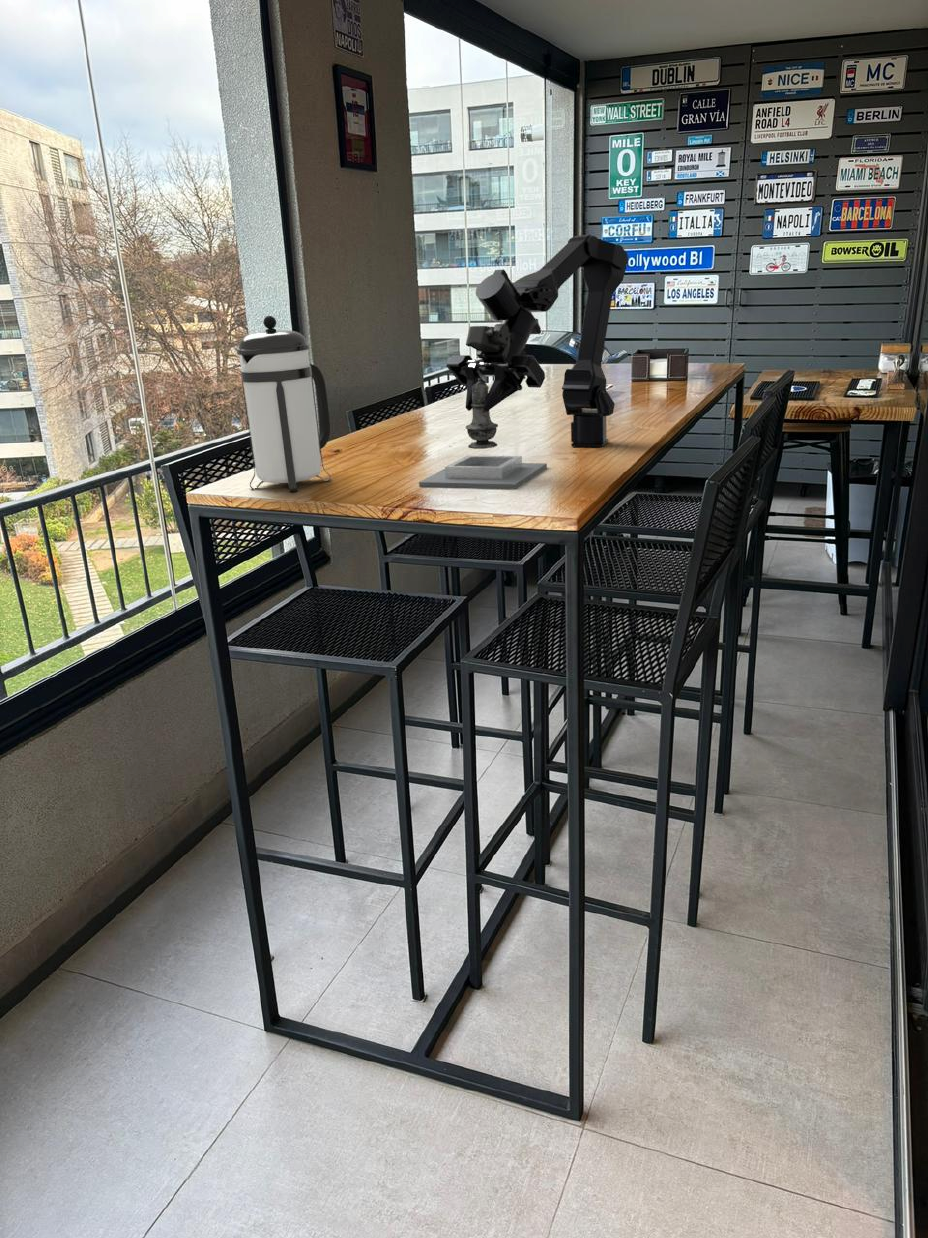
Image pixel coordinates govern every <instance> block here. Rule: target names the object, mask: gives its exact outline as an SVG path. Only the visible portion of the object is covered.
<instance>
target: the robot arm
mask: <svg viewBox="0 0 928 1238" xmlns="http://www.w3.org/2000/svg"><path fill="white" fill-rule="evenodd" d="M628 264H629V256H628V252H627V251H626V250H625V249H624V247H623V246H622V245H621V244H616V243H613V242H611V241H610V242H609V241H606V240H603V239H599V238H598V237H597V236H595V235H592V234H583V235H573V236H572V237H570V238H569V240H567V243H566V244H565V245H564V246H563V247H561V249H560V250H559V251H558V252H557V253H556V254H554V256H553V257H551V259H550V260H548V262H547V263H546V264H544V265H543V267H541V268H540V269H539V270H537V271H535V272H532V273H529V274H527V275H524V276H522V277H520V278H518V279H517V280H516V281H514V282H512V281H511V279H510V278H509V275H508V273H507V272H506V270H505V269H494V272H493V273H492V274H490V275H489V276H487V277H485V278H484V279H483V280H482V281H481V282H479V284H477V286H476V289H475V296H476V297H477V299H478V300H479V302H480V303H481V304H482V306H483V307H484V308H485V311H487V313H488V314H489V315H490V317H491V318H492V320H494V321H497V322H498V321H501V322H500V323H496V324H495V325H494V326H488V325H474V326H472V325H471V326H469V327H468V332H467V335H466V342H465V346H467V347H470V348H473V349H474V350H476V351H477V353H476V356H477V358H479V359H482V362H481V361H480V362H479V361H478V360H476V359H475V360H474V359H473V358H472V357H471V355H469V354H463V355H462V354H461V355H460V354H459V355H458V354H456V355H450V357H449V359H448V361H447V364H446V365H445V366H446V368H447V369H448V370H449V372H450V373H451V374H452V375H453V376H454V377H455V379H456V380H457V382H458V383H459V384H460V385H462V386H466V388H467V389H466V398H465V399H466V400H465V409H466V410H467V411H468V412H469V411H471V410H472V406H471V404H472V386H473V385H474V384H477V382H478V378H480V379H481V382H482V383H484V384H486V382H485V377H493V378H494V379H493V382H492V384H491V386H490V387H489V386H488V389H489V390H488V395H487V397H486V400H485V402H484V405H483V409H484V411H485V412H487V411H489V412H490V410H492V409H493V408H494V407H495V406H497V405H499V404H500V403H501V402H503V401H504V400H505V399H507V398H508V397H510V396H511V395H513V394H514V393H516V392H518V391H522V390H523V386H522V383H523V381H524V380H525V383H526V386H527V387H528V388H537V389H538V388H541V387H542V386H543V383H544V381H545V379H546V374H545V371H544V369H543V368H542V366H541V365H540V363H539V362H538V361H537V359H536V358H535V356H534V355H533V354H532V355H530V354H528V355H527V352H526V350H525V347H526V345H527V342H528V341H529V338H530V336H531V335H540V334H541V333H542V328H541V326H540V323H539V319H538V318H536V317H535V316H534V315H533V313H543V312H548V311H549V310H550V309H551V308H552V307H553V306H554V303H555V302H556V301H557V299H558V297H559V290H560V288H561V287H562V286H563V285H564V284H565V282H567V281H568V279H570V278H571V277H572V276H573V275H574V274H575V272H577V271H578V270H579V269H580V268H581V269H583V270H582V277H583V280H584V283H585V285H586V287H587V296H586V303H585V309H584V314H583V322H582V326H581V327H582V328H581V334H580V341H579V347H578V353H577V359H576V363H575V364H574V365H573V367H572V368H566V370H565V372H564V375H563V376H564V377H563V378H564V379H563V384H562V386H561V390H562V395H561V396H562V399H563V400H562V401H563V405H564V409H565V412H566V415H567V416H573V417H572V418H573V421H572V422H570V440H571V445H570V446H571V447H581V448H583V447H586V448H587V447H588V448H589V447H595V448H599V447H601V448H602V447H603V446H605V445H606V444H607V443H608V442H609V441H610V440H609V439H608V438H607V417H608V416H611V415H613V414H614V412H615V411H614V409H615V405H616V404H615V402H614V401H613V399H612V397H611V396H610V394H609V392H608V391H607V378H606V375H605V372H604V370H603V368H602V363H603V356H604V351H605V343H606V339H607V331H608V326H609V319H610V315H611V314H610V313H611V307H612V300H613V295H614V293H615V291H616V290H617V289H618V287H619V286H621V283H622V282H623V280H624V277H625V274H626V270H627V267H628ZM486 385H487V384H486Z"/></svg>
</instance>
